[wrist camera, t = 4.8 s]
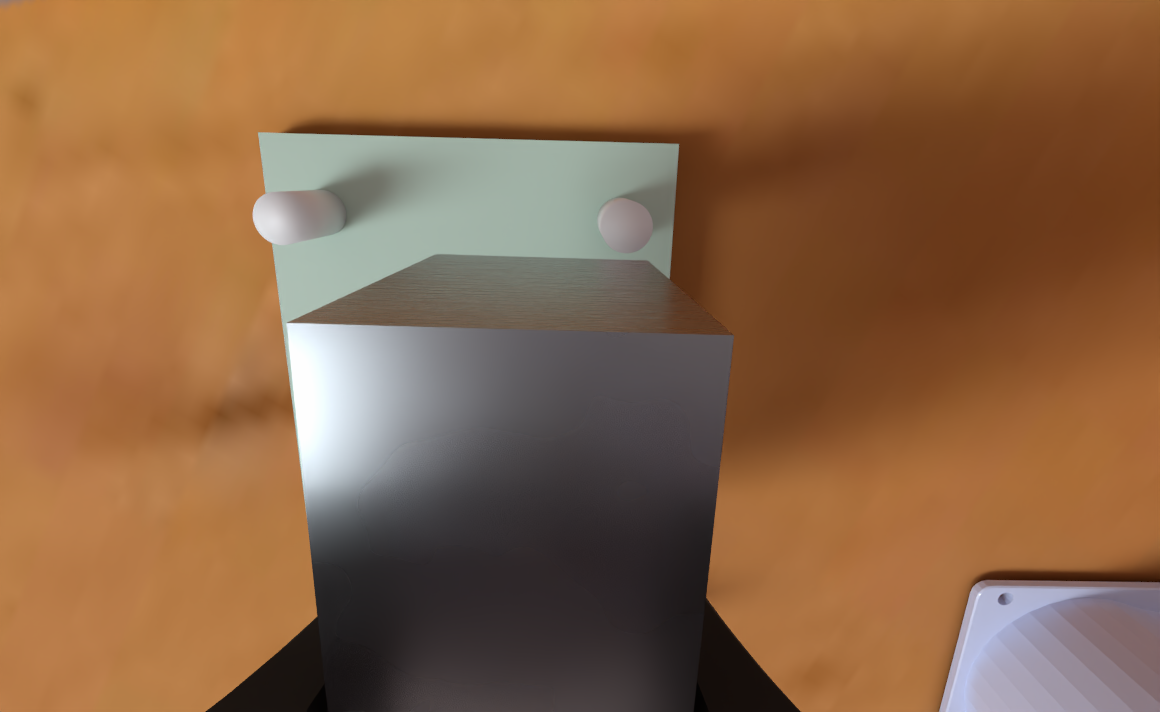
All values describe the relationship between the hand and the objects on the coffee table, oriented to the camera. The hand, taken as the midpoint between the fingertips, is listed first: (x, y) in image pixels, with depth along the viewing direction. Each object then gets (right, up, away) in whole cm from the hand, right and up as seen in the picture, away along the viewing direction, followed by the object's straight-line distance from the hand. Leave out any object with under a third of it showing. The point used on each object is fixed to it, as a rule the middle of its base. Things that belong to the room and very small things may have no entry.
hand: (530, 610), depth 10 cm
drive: (0, +2, +2) cm, 3 cm away
